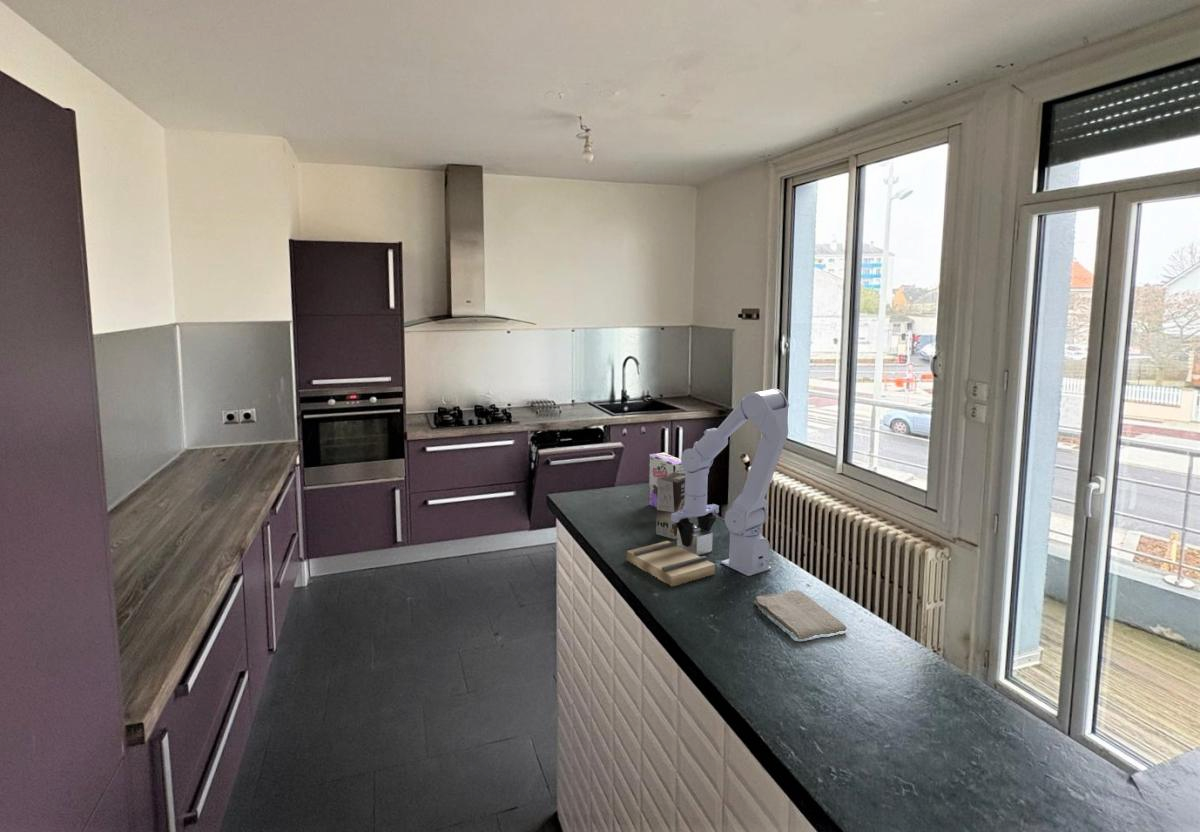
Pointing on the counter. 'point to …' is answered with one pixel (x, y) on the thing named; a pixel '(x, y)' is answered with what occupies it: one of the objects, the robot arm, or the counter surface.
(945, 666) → the counter surface
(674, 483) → the coffee box
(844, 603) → the counter surface
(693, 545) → the block
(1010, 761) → the counter surface
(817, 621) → the washcloth
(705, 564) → the stand
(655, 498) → the candy box
